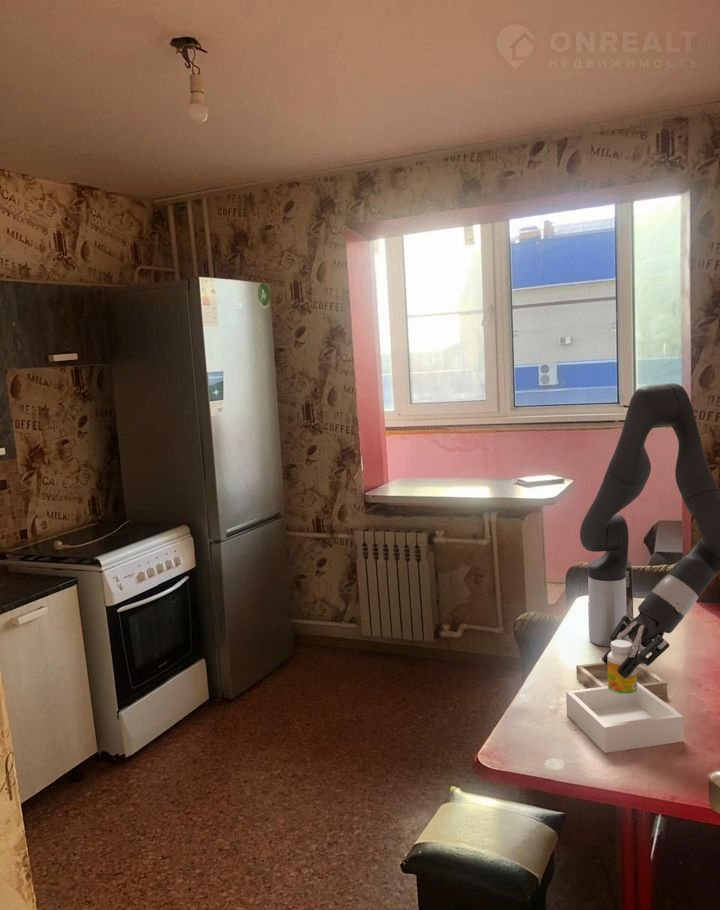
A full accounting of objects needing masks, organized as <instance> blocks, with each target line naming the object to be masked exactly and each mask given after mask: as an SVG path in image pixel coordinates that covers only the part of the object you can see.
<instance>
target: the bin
mask: <svg viewBox="0 0 720 910" xmlns="http://www.w3.org/2000/svg"><path fill="white" fill-rule="evenodd" d="M641 684H642V683H640V682H639V681H637V692H636V693H635V694H634V695H631V696H619V695H615V694H613V693H611V692H610V691H609V689H608V685H605V686H604V687H597V688H584V689H576V690H568V691H566V692H565V694H566V695H565V701H566V704H565V705H566V716H567V717H568V718H569V719H570V720H571V721H573V723H575V725H577V727H578V728H580V730H582V732H583V733H584V734H585V735H586V736H588V738H589V739H590V740H591V741H592V742H593V743H595V745H596V746H597V747H598V748H599V749H600V750H601V751H602V752H603V753H604V754H607V753H615V752H619V751H628V750H633V749H641V748H648V747H649V748H650V747H656V746H662V745H668V744H676V743H682V742H684V715H682V714H681V713H680V712H678V711H677V710H675V709H674V708H673V707H672V706H670V705H669V704H668V703H666V702H665V701H664V700H662V699H661V698H660V697H657V696H655V695H654V694H653V693H651V692H650V691H649V690H647V689H646V688H645V687H643V686H642V685H641Z"/></svg>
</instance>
